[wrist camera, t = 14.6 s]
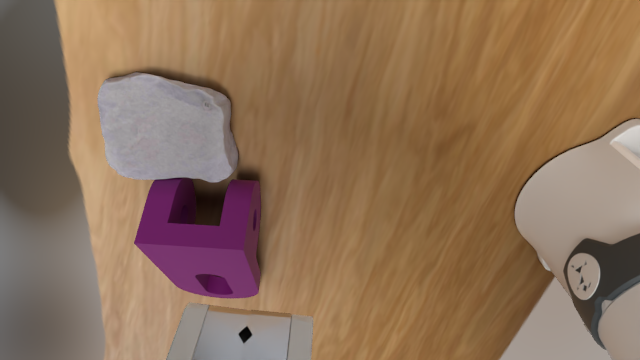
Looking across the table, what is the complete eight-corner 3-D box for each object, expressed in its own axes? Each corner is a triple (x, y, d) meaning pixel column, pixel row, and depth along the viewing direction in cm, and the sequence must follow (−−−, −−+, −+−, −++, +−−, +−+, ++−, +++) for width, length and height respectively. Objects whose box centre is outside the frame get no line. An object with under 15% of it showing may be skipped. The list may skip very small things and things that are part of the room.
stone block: (108, 65, 39) (124, 165, 43) (82, 73, 35) (102, 184, 39) (237, 69, 39) (241, 168, 43) (227, 78, 35) (232, 188, 39)
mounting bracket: (269, 236, 56) (256, 166, 40) (261, 300, 52) (243, 250, 36) (198, 231, 56) (157, 159, 40) (185, 295, 52) (133, 243, 36)
